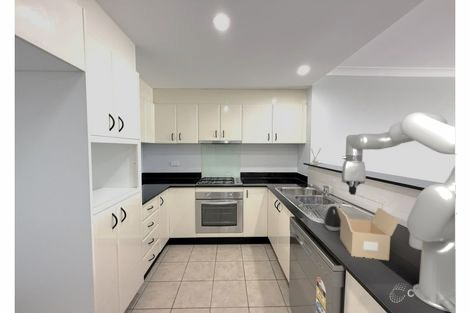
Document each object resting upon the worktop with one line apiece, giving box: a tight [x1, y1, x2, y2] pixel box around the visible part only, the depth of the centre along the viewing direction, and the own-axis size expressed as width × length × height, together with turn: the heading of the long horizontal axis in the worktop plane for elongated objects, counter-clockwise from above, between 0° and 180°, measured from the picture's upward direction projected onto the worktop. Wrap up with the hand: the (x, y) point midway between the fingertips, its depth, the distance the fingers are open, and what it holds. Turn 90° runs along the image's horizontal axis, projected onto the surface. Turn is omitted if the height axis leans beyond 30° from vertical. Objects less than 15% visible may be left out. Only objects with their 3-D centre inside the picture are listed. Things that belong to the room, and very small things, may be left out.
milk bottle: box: [408, 232, 423, 251], centre depth 111 cm, size 8×8×20 cm
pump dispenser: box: [323, 205, 341, 232], centre depth 132 cm, size 10×10×15 cm
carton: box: [339, 218, 391, 261], centre depth 109 cm, size 20×16×12 cm
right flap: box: [371, 207, 400, 237], centre depth 107 cm, size 20×8×1 cm
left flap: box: [335, 204, 353, 232], centre depth 111 cm, size 20×8×1 cm
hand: (352, 194), depth 109 cm, fingers closed
